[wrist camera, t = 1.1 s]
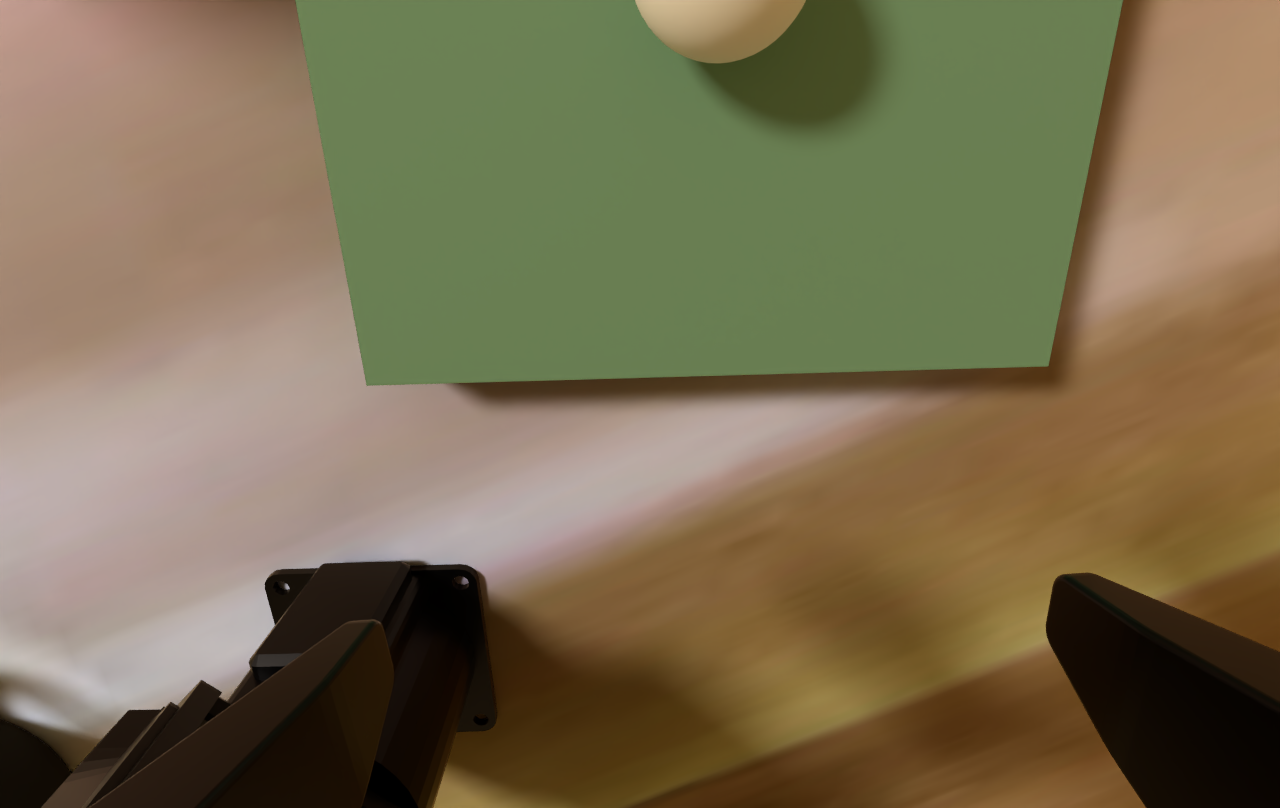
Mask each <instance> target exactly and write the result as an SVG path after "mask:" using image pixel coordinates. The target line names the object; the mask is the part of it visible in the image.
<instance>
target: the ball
mask: <svg viewBox="0 0 1280 808" xmlns="http://www.w3.org/2000/svg"><path fill="white" fill-rule="evenodd" d="M805 1H806V0H635V2H636V5H637V7H638V9H639V11H640V13H641V15H642V17H643V19H644V20H645V22H646V24H647V25H648V27H649V28H650V29H651V30H652V32H653V33H654V34H655V35H656V36H657V37H658V38H659V39H660V40H661V41H662V42H663V43H664V44H665V45H666V46H668V47H669V48H670V49H672V50H673V51H675V52H677V53H679V54H680V55H682V56H684V57H687V58H690V59H692V60H695V61H700V62H705V63H728V62H733V61H737V60H741V59H744V58H747V57H749V56H752V55H754V54H756V53H758V52H760V51H761V50H763V49H765V48H766V47H768V46H769V45H770V44H772V43H773V42H774V41H776V40H777V39H778V38H779V37H780V36H781V35H782V34H783V33H784V32H785V31H786V30H787V28H788V27H789V26H790V25H791V23H792V22H793V21H794V19H795V18H796V17H797V15H798V13H799V12H800V10H801V9H802V7H803V5H804V3H805Z"/></svg>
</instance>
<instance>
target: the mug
mask: <svg viewBox="0 0 1280 808" xmlns="http://www.w3.org/2000/svg"><path fill="white" fill-rule="evenodd" d="M70 775H71V773H70V772H69V770H68V768H67V767H66V765H65V764H64V762H63V761H62V760H61V759H60V757H59V756H58V755H57V754H56V753H55V752H54V751H53V750H52V749H51V748H50V747H48V746H47V745H46V744H45V743H44V742H42V741H41V740H40V739H38V738H37V737H35V736H34V735H32V734H31V733H29V732H27V731H25V730H23V729H22V728H19V727H17V726H15V725H13V724H11V723H8V722H6V721H3V720H0V808H41V807H42V806H43V805H44V804H45V802H46V801H47V800H48V799H49V798H50V797H51V796H52V795H53V794H54V792H55V791H56V790H57V789H58V788H59V787H60V786H61V785H62V784H63V782H64V781H65V780H66V779H67V778H68V777H69V776H70Z"/></svg>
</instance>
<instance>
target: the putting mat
mask: <svg viewBox="0 0 1280 808" xmlns="http://www.w3.org/2000/svg"><path fill="white" fill-rule="evenodd" d="M295 2H296V7H297V12H298V18H299V23H300V29H301V34H302V39H303V45H304V50H305V56H306V61H307V66H308V72H309V77H310V83H311V88H312V93H313V99H314V104H315V109H316V115H317V120H318V126H319V131H320V136H321V142H322V147H323V153H324V158H325V163H326V169H327V174H328V180H329V185H330V190H331V196H332V201H333V207H334V212H335V217H336V223H337V228H338V234H339V239H340V244H341V250H342V255H343V260H344V266H345V271H346V277H347V282H348V287H349V293H350V298H351V304H352V309H353V314H354V320H355V325H356V331H357V336H358V341H359V347H360V352H361V358H362V363H363V368H364V374H365V379H366V385H367V386H369V385H404V384H440V383H475V382H511V381H546V380H582V379H617V378H653V377H688V376H723V375H759V374H794V373H830V372H865V371H901V370H936V369H972V368H1007V367H1043V366H1048V365H1049V360H1050V356H1051V351H1052V346H1053V341H1054V336H1055V331H1056V326H1057V321H1058V316H1059V311H1060V307H1061V302H1062V297H1063V292H1064V287H1065V282H1066V277H1067V272H1068V267H1069V262H1070V258H1071V253H1072V248H1073V243H1074V238H1075V233H1076V228H1077V223H1078V218H1079V213H1080V209H1081V204H1082V199H1083V194H1084V189H1085V184H1086V179H1087V174H1088V169H1089V164H1090V160H1091V155H1092V150H1093V145H1094V140H1095V135H1096V130H1097V125H1098V120H1099V115H1100V111H1101V106H1102V101H1103V96H1104V91H1105V86H1106V81H1107V76H1108V71H1109V66H1110V62H1111V57H1112V52H1113V47H1114V42H1115V37H1116V32H1117V27H1118V22H1119V17H1120V13H1121V8H1122V3H1123V0H806V1H805V3H804V5H803V7H802V9H801V10H800V12H799V13H798V15H797V17H796V18H795V19H794V21H793V22H792V23H791V25H790V26H789V27H788V28H787V30H786V31H785V32H784V33H783V34H782V35H781V36H780V37H779V38H778V39H777V40H776V41H774V42H773V43H772V44H770V45H769V46H768V47H766V48H765V49H763V50H761V51H760V52H758V53H756V54H754V55H752V56H749V57H747V58H744V59H741V60H737V61H733V62H728V63H705V62H700V61H695V60H692V59H690V58H687V57H684V56H682V55H680V54H679V53H677V52H675V51H673V50H672V49H670V48H669V47H668V46H666V45H665V44H664V43H663V42H662V41H661V40H660V39H659V38H658V37H657V36H656V35H655V34H654V33H653V32H652V30H651V29H650V28H649V27H648V25H647V24H646V22H645V20H644V19H643V17H642V15H641V13H640V11H639V9H638V7H637V5H636V2H635V0H295Z"/></svg>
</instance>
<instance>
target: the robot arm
mask: <svg viewBox="0 0 1280 808" xmlns="http://www.w3.org/2000/svg"><path fill="white" fill-rule="evenodd" d="M457 576H463V577H465V578H466V579H468V582H469V583H468V584H465V585H461V584H458V583H457V582H456V581H455V579H454V578H455V577H457ZM277 581H282V582H285V583H287V584H288V586H289V587H290V589H289V590H285V589H282V588H281V587H279V586H278V584H277ZM265 590H266V594H267V597H268V601H269V605H270V608H271V612H272V616H273V619H274V623H275V626H274V628H273V629H272V630H271V632H270V633H269V634H268V636H267V637H266V638H265V640H264V641H263V642H262V644H261V645H260V646H259V648H258V649H257V650H256V652H255V653H254V654H253V656H252V657H251V658H250V661H249V665H250V668H251V669H250V670H249V672H248V673H247V675H246V676H245V677H244V679H243V680H242V681H241V683H240V684H239V685H238V687H237V688H236V689H235V691H234V692H233V694H232V695H231V696H230V698H229V699H228V700H227V701H226V700H224V699H222V698H221V697H219V696H220V695H221V693H222V692H220V691H219V690H217V689H216V688H214V687H212V686H211V685H209V684H207V683H206V682H204V681H203V680H201V681H200V682H199V683H198V684H197V685H196V686H195V687H194V688H193V689H192V690H191V691H190V692H189V693H188V695H187V696H186V697H185V698H184V699H183V700H182V701H181V702H180V703H179V704H178V705H175V704H174V703H172V702H170V703H169V704H168V705H167V706H166V707H163V708H162V709H161V710H128V711H127V713H126V714H125V715H124V716H123V717H122V718H121V719H120V720H119V721H118V722H117V723H116V725H115V726H114V727H113V728H112V729H111V730H110V731H109V732H108V733H107V735H106V736H105V737H104V738H103V739H102V740H101V741H100V742H99V743H98V745H97V746H96V747H95V748H94V749H93V750H92V751H91V752H90V753H89V755H88V756H87V757H86V758H85V759H84V760H83V761H82V762H81V763H80V765H79V766H78V767H77V768H76V769H75V770H74V771H73V772H72V773H71V775H70V776H69V777H68V778H67V779H66V780H65V781H64V782H63V784H62V785H61V786H60V787H59V788H58V789H57V790H56V791H55V792H54V794H53V795H52V796H51V797H50V798H49V799H48V800H47V801H46V802H45V804H44V805H43V806H42V807H41V808H433V807H434V804H435V800H436V797H437V794H438V790H439V787H440V784H441V781H442V777H443V774H444V771H445V767H446V764H447V761H448V758H449V754H450V751H451V748H452V744H453V741H454V738H455V735H456V732H466V731H485V730H489V729H491V728H492V727H493V726H494V725H495V723H496V718H497V708H496V700H495V693H494V686H493V678H492V671H491V664H490V656H489V649H488V642H487V634H486V627H485V620H484V612H483V605H482V597H481V590H480V583H479V577H478V574H477V572H476V571H475V570H474V569H473V568H472V567H470V566H468V565H462V564H454V565H418V566H409V565H408V564H406V563H404V562H400V561H398V562H362V563H327V564H323V565H321V566H320V567H319V568H310V569H281V570H276V571H275V572H273V573H272V574H271V575H270V576H269V577H268V578H267V580H266V582H265ZM1046 633H1047V638H1048V641H1049V643H1050V645H1051V647H1052V649H1053V651H1054V653H1055V655H1056V657H1057V658H1058V660H1059V662H1060V664H1061V666H1062V668H1063V669H1064V671H1065V673H1066V675H1067V677H1068V678H1069V680H1070V682H1071V684H1072V686H1073V688H1074V689H1075V691H1076V693H1077V695H1078V697H1079V699H1080V700H1081V702H1082V704H1083V706H1084V708H1085V710H1086V711H1087V713H1088V715H1089V717H1090V719H1091V720H1092V722H1093V724H1094V726H1095V728H1096V730H1097V731H1098V733H1099V735H1100V737H1101V738H1102V740H1103V742H1104V744H1105V745H1106V747H1107V749H1108V750H1109V752H1110V754H1111V755H1112V757H1113V758H1114V760H1115V761H1116V763H1117V765H1118V766H1119V768H1120V769H1121V771H1122V772H1123V774H1124V775H1125V777H1126V778H1127V780H1128V781H1129V783H1130V784H1131V786H1132V787H1133V789H1134V790H1135V792H1136V793H1137V795H1138V796H1139V798H1140V799H1141V800H1142V802H1143V803H1144V805H1145V806H1146V808H1280V652H1278V651H1276V650H1274V649H1271V648H1269V647H1267V646H1264V645H1262V644H1259V643H1257V642H1255V641H1252V640H1250V639H1248V638H1245V637H1243V636H1240V635H1238V634H1236V633H1233V632H1231V631H1229V630H1226V629H1224V628H1222V627H1219V626H1217V625H1214V624H1212V623H1210V622H1207V621H1205V620H1203V619H1200V618H1198V617H1195V616H1193V615H1191V614H1188V613H1186V612H1184V611H1181V610H1179V609H1177V608H1174V607H1172V606H1169V605H1167V604H1165V603H1162V602H1160V601H1158V600H1155V599H1153V598H1150V597H1148V596H1146V595H1143V594H1141V593H1139V592H1136V591H1134V590H1131V589H1129V588H1127V587H1124V586H1122V585H1120V584H1117V583H1115V582H1113V581H1110V580H1108V579H1105V578H1103V577H1101V576H1098V575H1096V574H1093V573H1075V574H1063V575H1060V576H1058V577H1057V578H1056V580H1055V581H1054V584H1053V588H1052V594H1051V599H1050V605H1049V610H1048V616H1047V621H1046ZM477 714H484V715H485V716H487V717H488V718H487V719H479V718H477V717H476V715H477Z"/></svg>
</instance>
